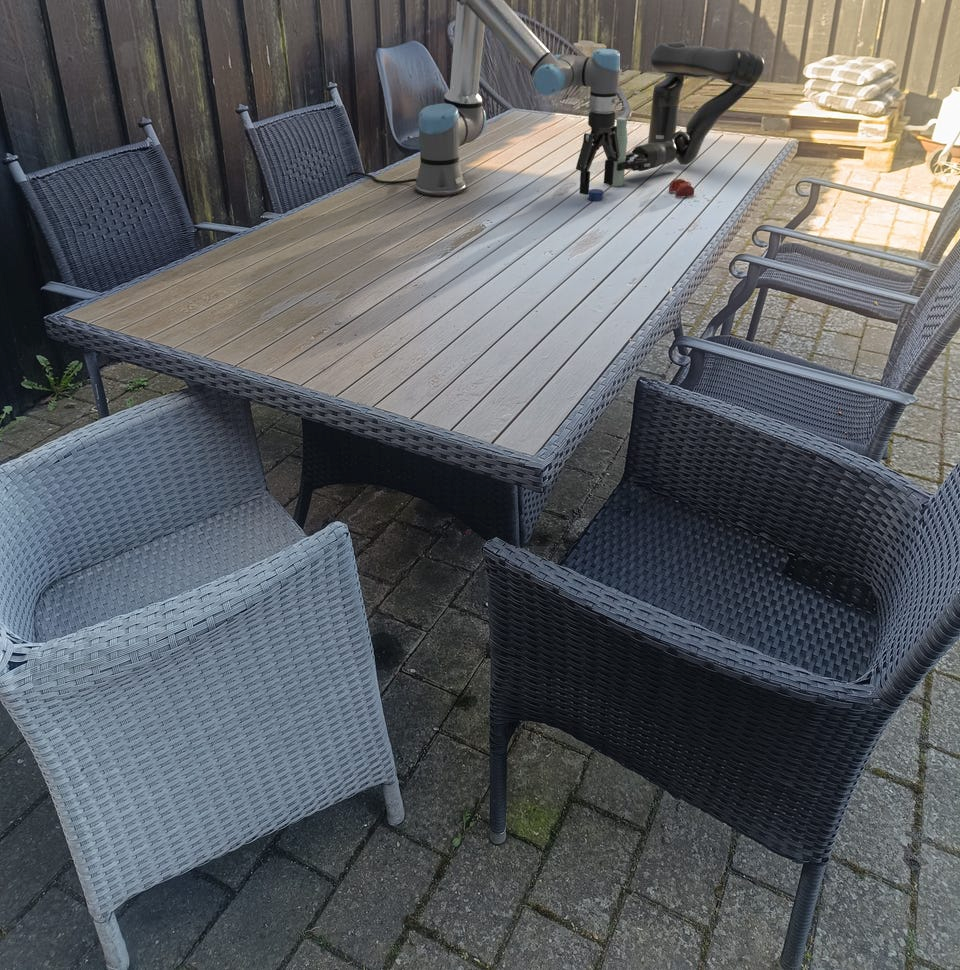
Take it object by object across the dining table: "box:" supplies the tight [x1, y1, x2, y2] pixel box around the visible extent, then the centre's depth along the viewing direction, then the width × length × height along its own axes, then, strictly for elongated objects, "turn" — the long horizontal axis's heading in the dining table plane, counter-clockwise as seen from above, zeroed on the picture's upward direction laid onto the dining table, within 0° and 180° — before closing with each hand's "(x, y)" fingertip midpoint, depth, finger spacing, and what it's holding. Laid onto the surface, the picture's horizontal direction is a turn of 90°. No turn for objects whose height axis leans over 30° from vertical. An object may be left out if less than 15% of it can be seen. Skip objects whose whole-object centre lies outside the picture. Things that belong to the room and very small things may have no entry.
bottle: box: [610, 116, 629, 187], centre depth 258 cm, size 4×4×19 cm
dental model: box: [668, 178, 695, 198], centre depth 254 cm, size 6×4×8 cm
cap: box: [588, 188, 604, 202], centre depth 251 cm, size 4×4×2 cm
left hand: (596, 188), depth 250 cm, fingers open, 12 cm apart
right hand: (611, 165), depth 258 cm, fingers closed on bottle, 4 cm apart
